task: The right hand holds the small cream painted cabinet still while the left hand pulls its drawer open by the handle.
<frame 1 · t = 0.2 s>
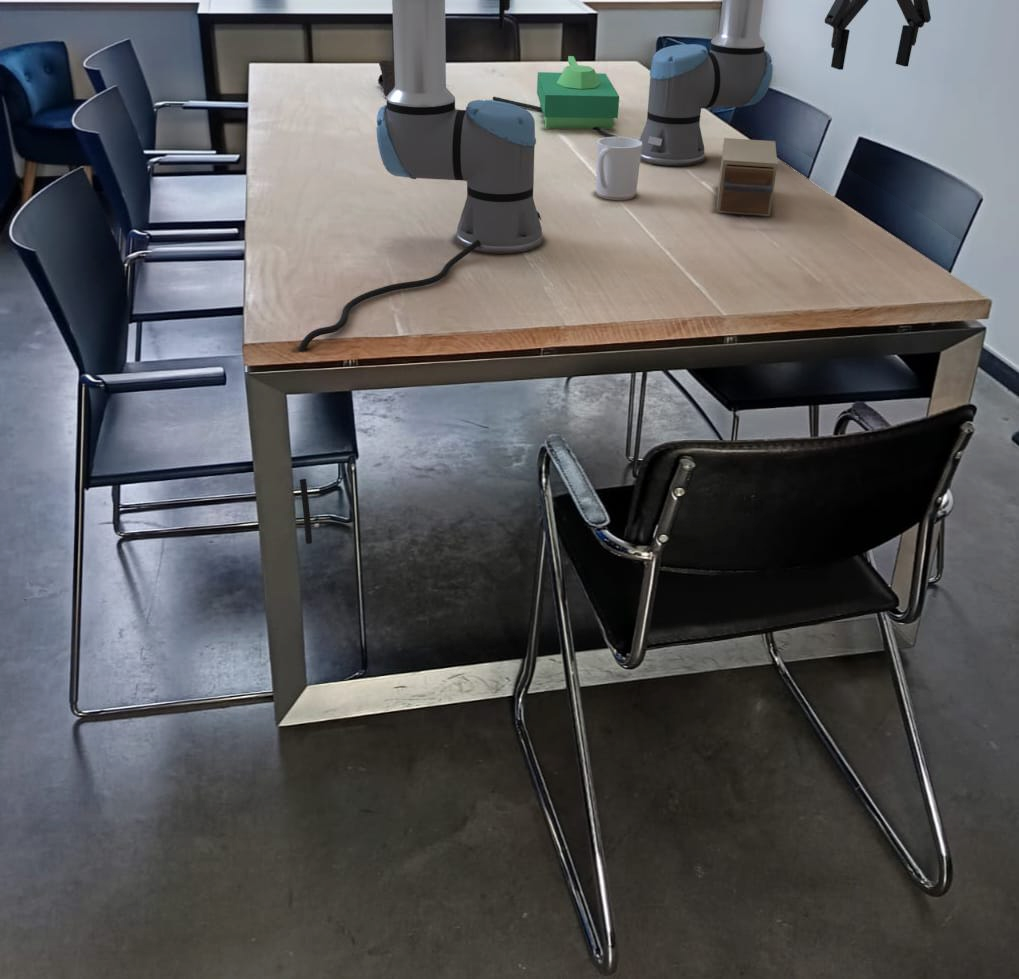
left hand: (468, 26, 224), 28 cm above the table, tool pointing down, fingers open, 13 cm apart
right hand: (869, 66, 196), 28 cm above the table, tool pointing down, fingers open, 13 cm apart
toy tank: (573, 116, 279), on the table
axe head: (403, 91, 300), on the table
mug: (612, 196, 220), on the table
cabinet: (743, 201, 219), on the table
drawer: (746, 182, 212), point 5 cm above the table, slide at 0.5 cm
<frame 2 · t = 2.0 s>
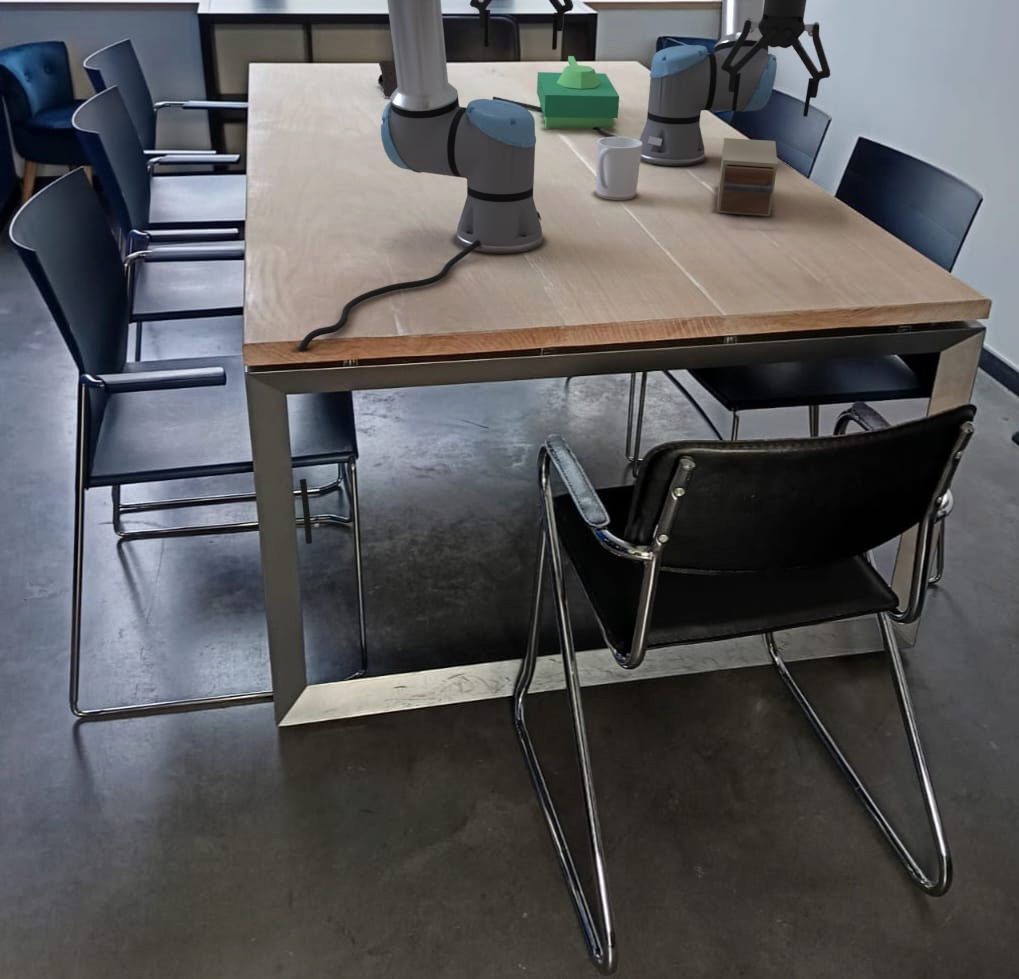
left hand: (520, 47, 219), 25 cm above the table, tool pointing down, fingers open, 13 cm apart
right hand: (769, 112, 212), 17 cm above the table, tool pointing down, fingers open, 13 cm apart
nothing on the table moved.
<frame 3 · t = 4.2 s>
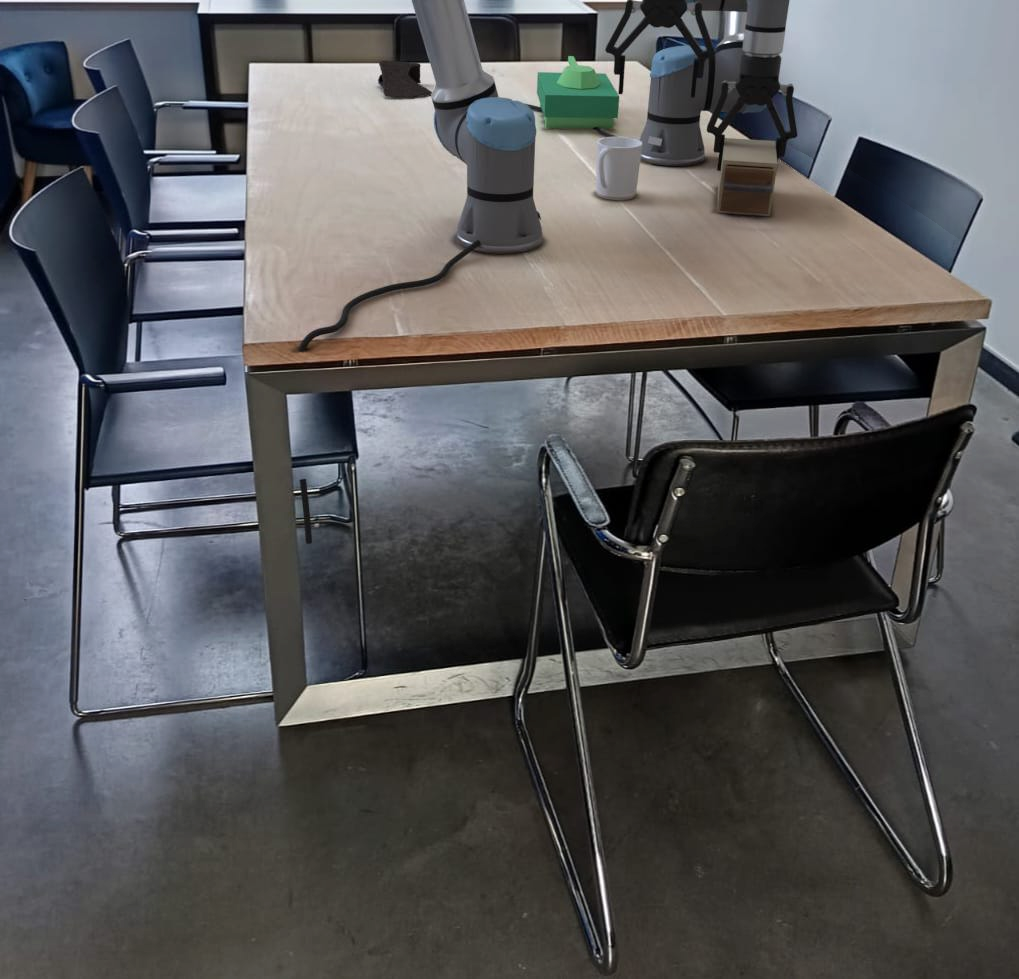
left hand: (656, 94, 207), 20 cm above the table, tool pointing down, fingers open, 13 cm apart
right hand: (746, 170, 220), 5 cm above the table, tool pointing down, fingers closed on cabinet, 10 cm apart
cabinet: (743, 201, 219), on the table, touching right hand
everything else where it was.
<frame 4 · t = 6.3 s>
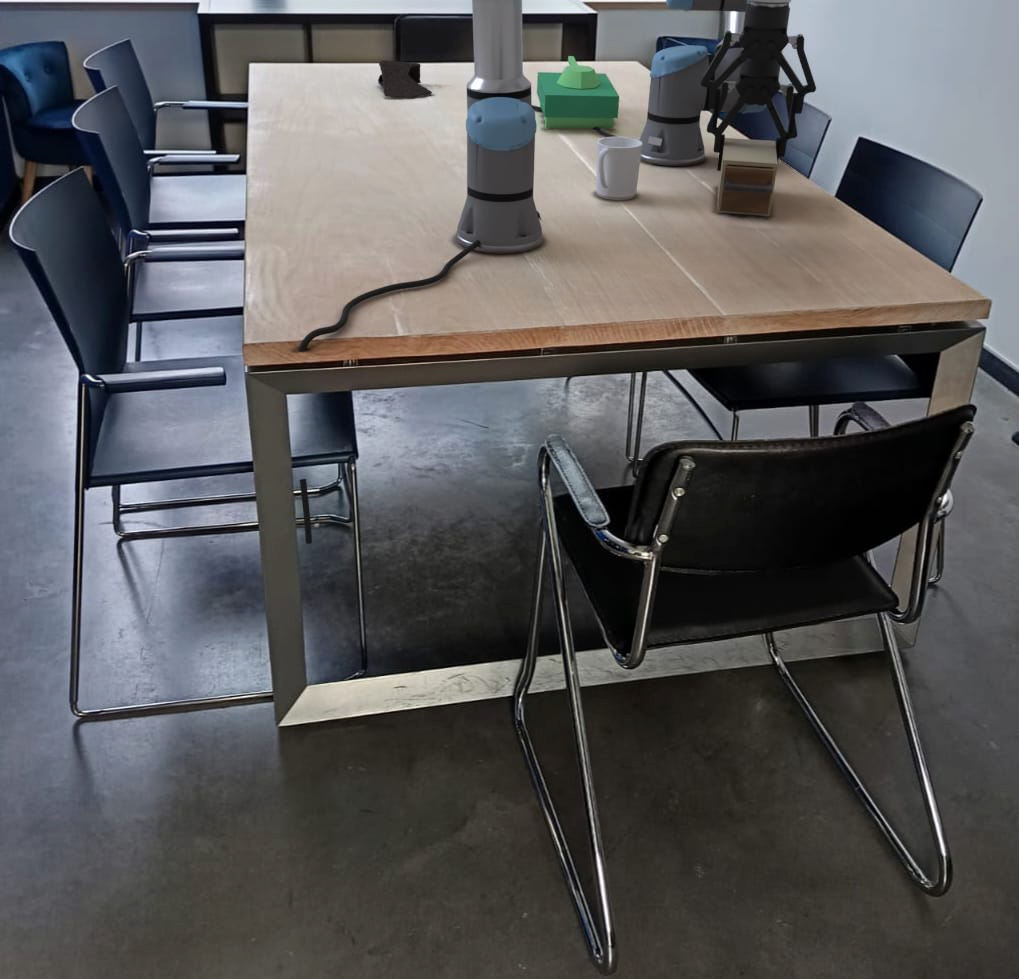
left hand: (752, 129, 200), 17 cm above the table, tool pointing down, fingers open, 13 cm apart
right hand: (746, 170, 220), 5 cm above the table, tool pointing down, fingers closed on cabinet, 10 cm apart
cabinet: (743, 201, 219), on the table, touching right hand
everything else where it was.
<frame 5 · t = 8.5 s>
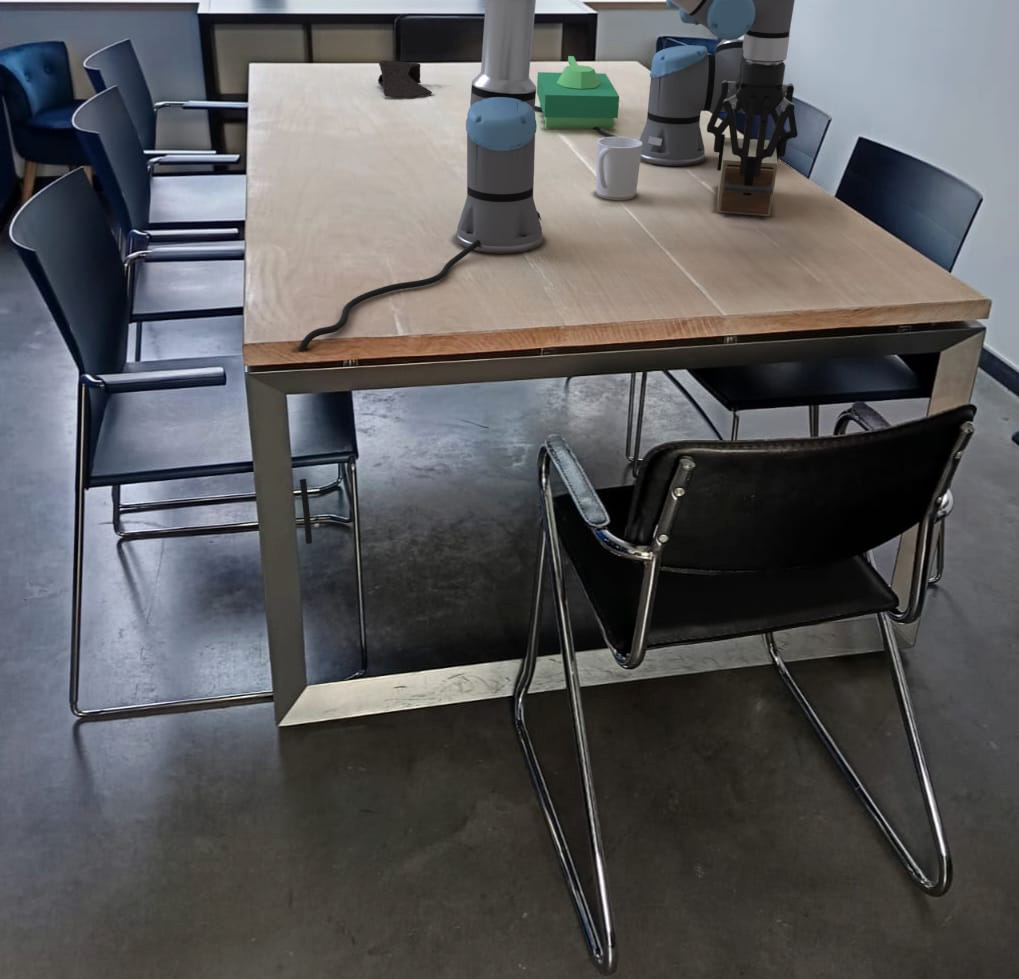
left hand: (747, 193, 205), 5 cm above the table, tool pointing down, fingers closed
right hand: (746, 170, 220), 5 cm above the table, tool pointing down, fingers closed on cabinet, 10 cm apart
cabinet: (743, 201, 219), on the table, touching right hand
drawer: (746, 183, 212), point 5 cm above the table, slide at 0.6 cm, touching left hand
everything else where it was.
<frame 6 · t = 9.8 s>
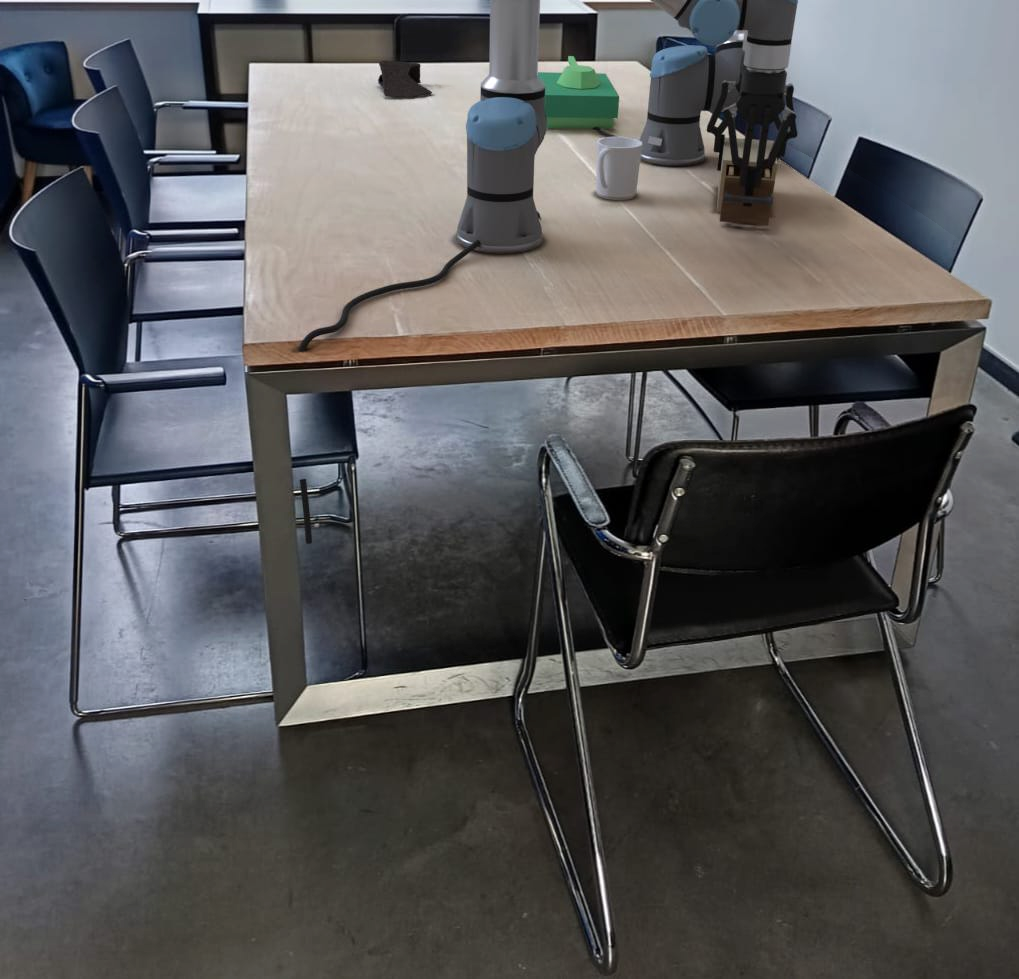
left hand: (747, 204, 200), 5 cm above the table, tool pointing down, fingers closed
right hand: (746, 170, 220), 5 cm above the table, tool pointing down, fingers closed on cabinet, 10 cm apart
cabinet: (743, 201, 219), on the table, touching right hand
drawer: (746, 192, 207), point 5 cm above the table, slide at 7.2 cm, touching left hand
everything else where it was.
when the right hand's fingers open (5 cm above the table, at t = 11.6 s): cabinet stays where it is, on the table.
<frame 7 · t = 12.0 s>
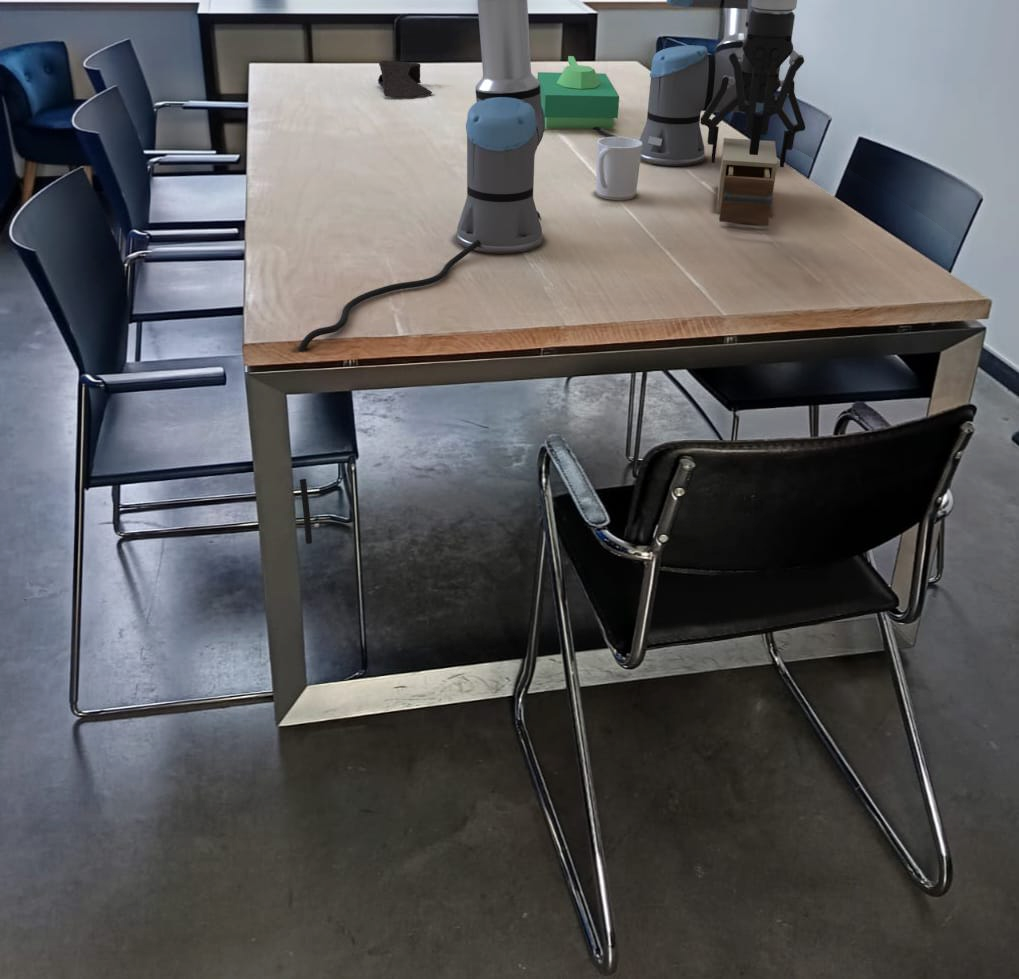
left hand: (753, 152, 196), 14 cm above the table, tool pointing down, fingers closed
right hand: (747, 163, 219), 6 cm above the table, tool pointing down, fingers open, 13 cm apart
cabinet: (742, 201, 219), on the table
drawer: (746, 192, 207), point 5 cm above the table, slide at 7.2 cm
everything else where it was.
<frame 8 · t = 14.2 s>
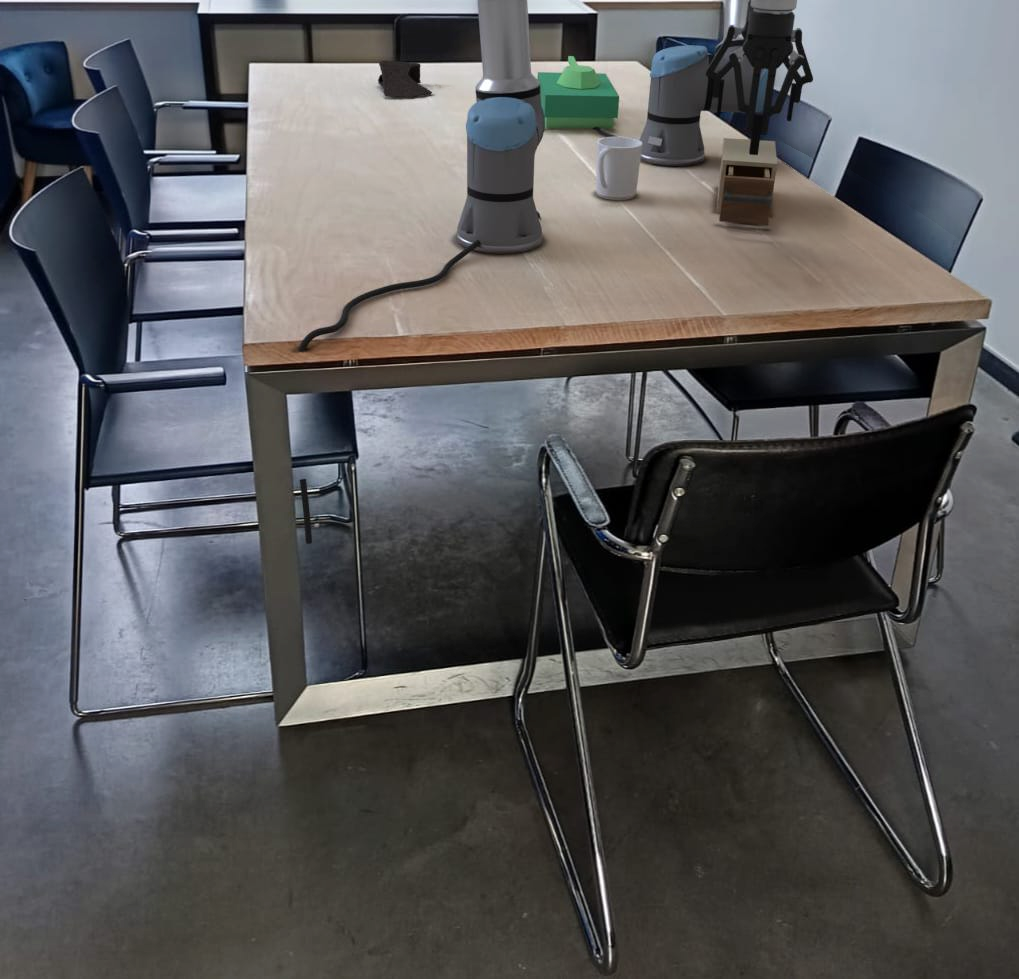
left hand: (753, 152, 196), 14 cm above the table, tool pointing down, fingers closed
right hand: (753, 117, 214), 16 cm above the table, tool pointing down, fingers open, 13 cm apart
nothing on the table moved.
at the end: drawer slide at 7.2 cm; cabinet tilted 0°; cabinet never tilted more than 1° during the clip; cabinet moved 0.1 cm from its start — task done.
